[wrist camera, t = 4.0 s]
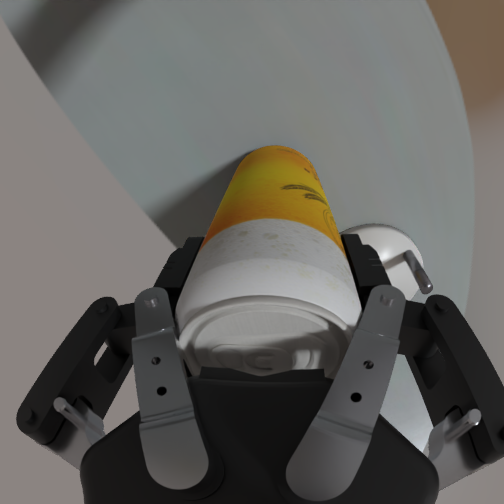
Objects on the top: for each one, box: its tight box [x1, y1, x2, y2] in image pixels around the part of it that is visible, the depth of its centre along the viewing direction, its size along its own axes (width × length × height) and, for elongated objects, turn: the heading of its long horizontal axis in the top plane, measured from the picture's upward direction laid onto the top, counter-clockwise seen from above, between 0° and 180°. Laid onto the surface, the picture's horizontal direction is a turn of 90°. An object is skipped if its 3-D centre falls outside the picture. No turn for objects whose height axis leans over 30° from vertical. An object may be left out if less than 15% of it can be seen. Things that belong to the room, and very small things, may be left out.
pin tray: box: [339, 224, 433, 301], centre depth 22 cm, size 11×11×6 cm
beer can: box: [175, 145, 363, 379], centre depth 14 cm, size 6×6×15 cm
